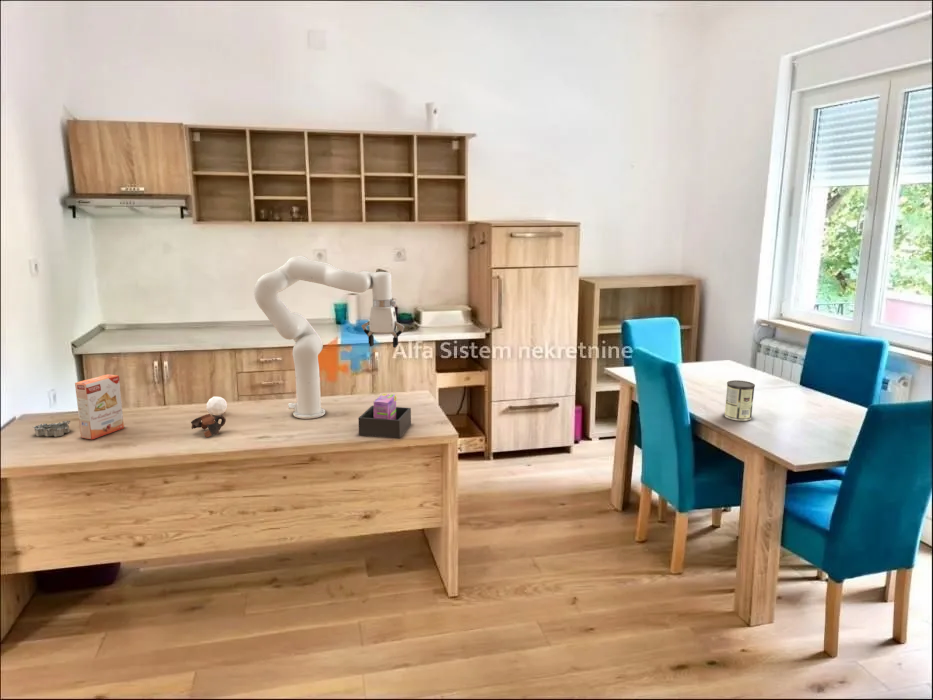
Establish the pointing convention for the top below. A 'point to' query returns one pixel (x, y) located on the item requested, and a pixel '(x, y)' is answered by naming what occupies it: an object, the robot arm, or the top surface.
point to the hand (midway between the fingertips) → (383, 346)
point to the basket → (384, 424)
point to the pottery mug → (209, 424)
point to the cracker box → (99, 406)
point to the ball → (216, 406)
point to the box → (385, 407)
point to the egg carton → (52, 429)
